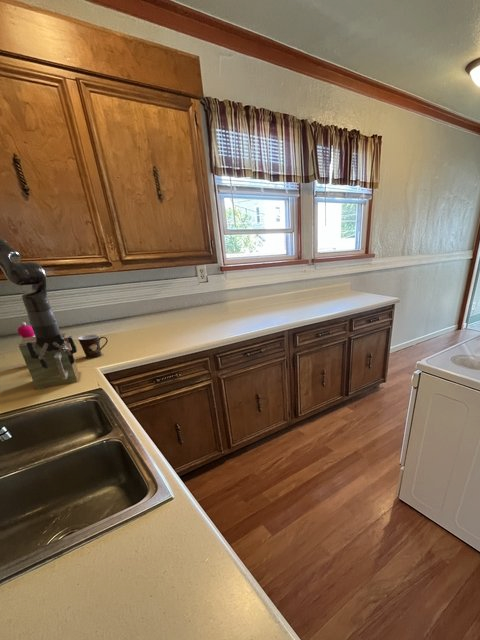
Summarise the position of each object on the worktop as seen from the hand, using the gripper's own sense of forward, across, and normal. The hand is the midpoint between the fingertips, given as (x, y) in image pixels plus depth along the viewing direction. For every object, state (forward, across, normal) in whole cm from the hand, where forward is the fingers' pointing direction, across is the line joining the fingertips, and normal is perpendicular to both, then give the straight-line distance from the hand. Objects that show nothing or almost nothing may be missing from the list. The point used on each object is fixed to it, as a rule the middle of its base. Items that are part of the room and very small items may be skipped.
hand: (59, 365), depth 123 cm
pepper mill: (+10, +14, -40) cm, 44 cm away
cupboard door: (+10, +4, -4) cm, 11 cm away
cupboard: (+10, +4, -13) cm, 17 cm away
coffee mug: (+10, -10, -40) cm, 42 cm away
